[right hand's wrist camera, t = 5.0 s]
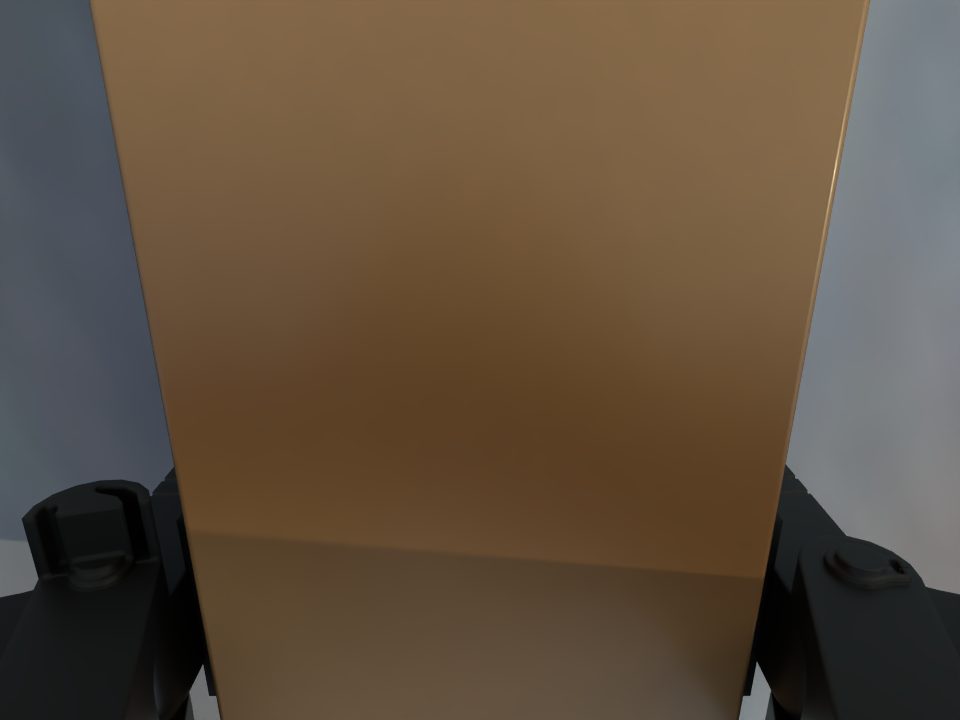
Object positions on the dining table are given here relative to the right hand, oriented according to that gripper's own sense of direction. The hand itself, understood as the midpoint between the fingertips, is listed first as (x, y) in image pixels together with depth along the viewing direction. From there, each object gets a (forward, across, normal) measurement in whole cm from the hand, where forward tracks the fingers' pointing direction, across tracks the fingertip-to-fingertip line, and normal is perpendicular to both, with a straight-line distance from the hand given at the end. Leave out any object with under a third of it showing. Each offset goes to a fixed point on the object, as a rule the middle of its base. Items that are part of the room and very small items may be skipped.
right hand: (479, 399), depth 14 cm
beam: (+1, 0, -29) cm, 29 cm away
